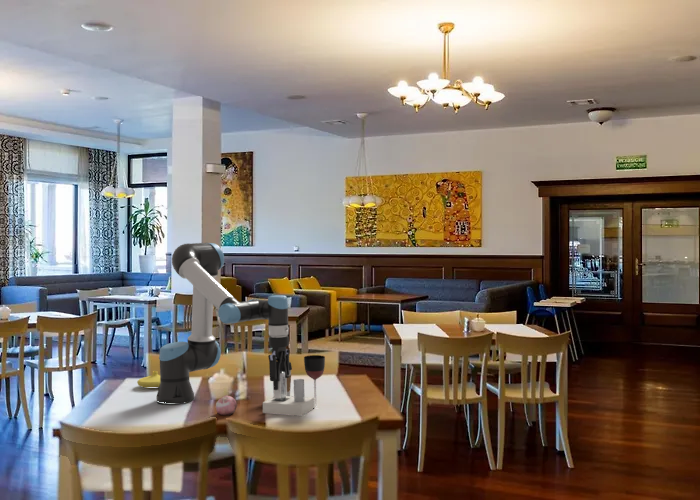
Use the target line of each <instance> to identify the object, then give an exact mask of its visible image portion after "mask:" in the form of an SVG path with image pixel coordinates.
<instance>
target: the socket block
mask: <svg viewBox="0 0 700 500" xmlns="http://www.w3.org/2000/svg"><path fill="white" fill-rule="evenodd" d="M313 408H315V404H314V397H306V396H305V379H304V378H295V379H293V396H292V395H290V396H286V401H284V402H279V401H275V398H274V396H273V397H271V398H269V399H267V400H265V401H262V414H269V415H270V414H271V415H283V416H284V415H286V416H294V415H297V416H296V417H302V416H304V415H305V413H306V414H307V413H309V412H311V411H312V410H314V409H313ZM315 409H316V408H315ZM310 410H311V411H310Z"/></svg>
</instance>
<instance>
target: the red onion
mask: <svg viewBox="0 0 700 500" xmlns="http://www.w3.org/2000/svg"><path fill="white" fill-rule="evenodd" d="M237 407H238V404H237V401H236V399H235V398H234V397H232V396H230V395H227V394H226V395H224V396H222V397H220V398H219V399H218V400H217V401H216V403H215V410H216V414H217V415H221V416H230V415H232V414H233V413H235V411H236V410H237Z"/></svg>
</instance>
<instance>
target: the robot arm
mask: <svg viewBox="0 0 700 500" xmlns="http://www.w3.org/2000/svg"><path fill="white" fill-rule="evenodd" d="M172 253H173V254H172V256H171V264H172V265H171V266H172V267H173V269H174V271H175V273H176V274H177V275H178V276H179V277H180V278H181V279H186V280H187V281H188V282H189V283H190V284H191V285H192V286H193V287H192V306H191V308H192V309H191V310H192V311H191V334H190V335H189V336H188V337H187V341H175V342H170V343H167V344H164V345H163V346H161V347H160V349H159V357H158V359H159V375H160V386H159V388H157V389H158V391H157V394H156V402H157V401H159V402H164V403H165V402H166V403H182V404H185V403H184V402H187V403H190V402H192V401H194V400H195V392H194V390H193V387H192V383H191V382H190V373H191V372H197V371H202V370H208V369H210V368H213V367H215V366H216V365H217V364H218V363H219V361H220V360H221V354H222V352H221V347H220V344H219V342H217V340H216V337H215V336H214V335H213V320H214V319H213V315H214V307H215V309H217V311H218V313H217V314H218V315H217V316H218V317H219V320H220V321H221V322H222V323H223V324H227V325H228V324H236V323H237V324H238V323H243V322H249V321H256V320H267V321H268V335H269V337H268V345H269V347H271V348H272V349H271V350H272V351H271V354H268V356H267V357H268V361H269V363H268V365H269V380H270V382H272V384H273V385H272V386H273V390H272V391H273V397H274V398H281V384H280V381H279V376H280V371H284V372H285V389H286V395H287V378H289V376H287V375H289V362H290V353H291V352H290V349H287V347H288V346H289V344H290V340H289V338H290V337H289V330H290V327H289V303H288V301H289V300H288V297H287V296H286V295H285V294H284V295H281V294H280V295H279V294H276V295H274V294H273V295H269V296H268V297H267V299H258V298H256V299H255V298H254V299H248V300H247V301H239V300H237V298H235V297H234V296H233V295H232V294H231V293H230V292H229V291H228V290H227V289H225V288H224V287H223V286H222V284H220V283H219V281H217V280H216V278H217V276H219V270H221V269H222V268H223V266H224V264H225V255H224V251H223V249H221V247H220V246H219V245H218V244H217V243H213V242H195V243H194V242H193V243H183V244H181V245H178V246H177V248H175V249H174V251H173V252H172ZM189 401H190V402H189Z"/></svg>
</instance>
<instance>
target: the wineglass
mask: <svg viewBox="0 0 700 500" xmlns="http://www.w3.org/2000/svg"><path fill="white" fill-rule="evenodd" d="M303 362H304V363H303V364H304V370H305V373H306V376H307V377H309V378H310V379H312V380H313V385H314V386H313V394H314V395H313V396H314V397H313V398H314V406H315V407H317V379H319V378H320V377H322V376H323V374H324V372H325V368H326V367H325V365H326V364H325V363H326V356H324V355H319V354H317V355H316V354H312V355H310V354H309V355H305V356H303Z"/></svg>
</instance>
